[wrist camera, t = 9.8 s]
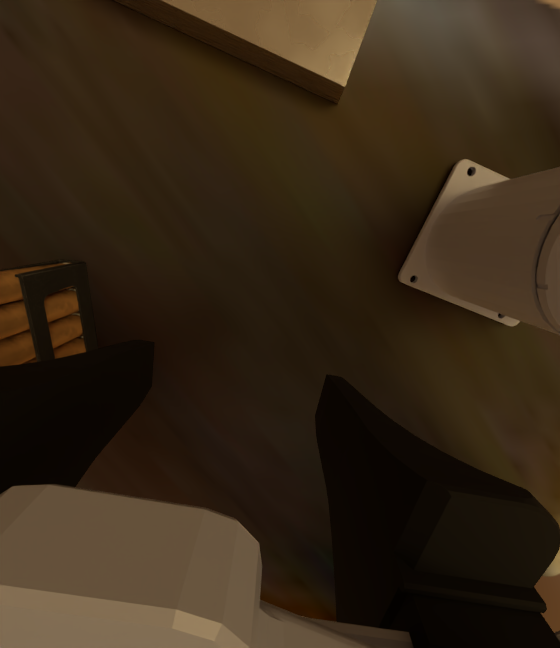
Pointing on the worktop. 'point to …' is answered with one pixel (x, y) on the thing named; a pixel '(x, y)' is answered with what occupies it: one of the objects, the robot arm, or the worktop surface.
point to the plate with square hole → (275, 34)
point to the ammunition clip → (45, 312)
